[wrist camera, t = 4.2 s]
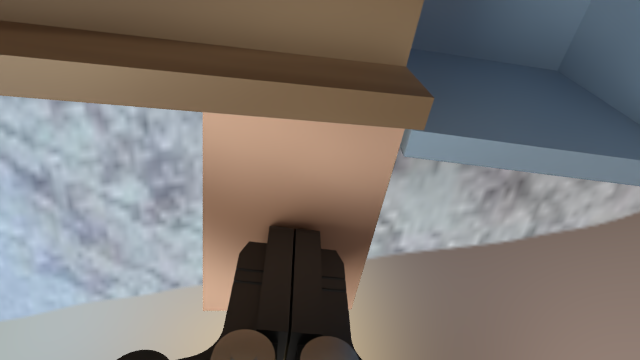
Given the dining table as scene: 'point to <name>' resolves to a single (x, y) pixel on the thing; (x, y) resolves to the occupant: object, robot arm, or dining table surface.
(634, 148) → the blue open bin
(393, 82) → the lever
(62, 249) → the dining table surface
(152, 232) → the dining table surface
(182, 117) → the dining table surface
